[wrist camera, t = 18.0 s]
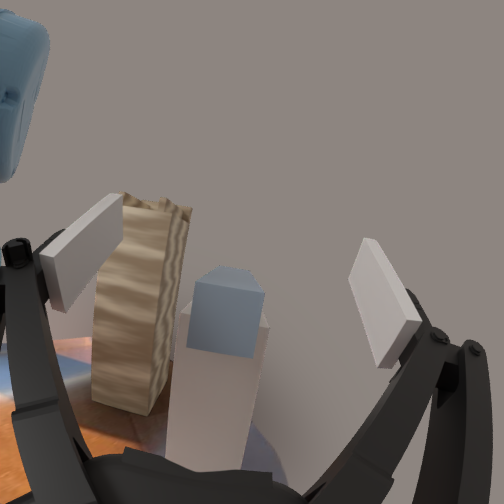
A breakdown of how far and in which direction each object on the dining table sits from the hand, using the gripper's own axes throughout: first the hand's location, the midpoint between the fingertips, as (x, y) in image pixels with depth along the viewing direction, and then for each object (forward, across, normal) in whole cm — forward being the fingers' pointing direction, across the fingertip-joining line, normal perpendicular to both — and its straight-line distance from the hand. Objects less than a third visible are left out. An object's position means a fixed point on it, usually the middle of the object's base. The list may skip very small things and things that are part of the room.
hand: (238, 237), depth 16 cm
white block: (-1, 0, -33) cm, 33 cm away
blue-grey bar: (+8, 0, -13) cm, 15 cm away
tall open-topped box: (+15, -15, -42) cm, 48 cm away
